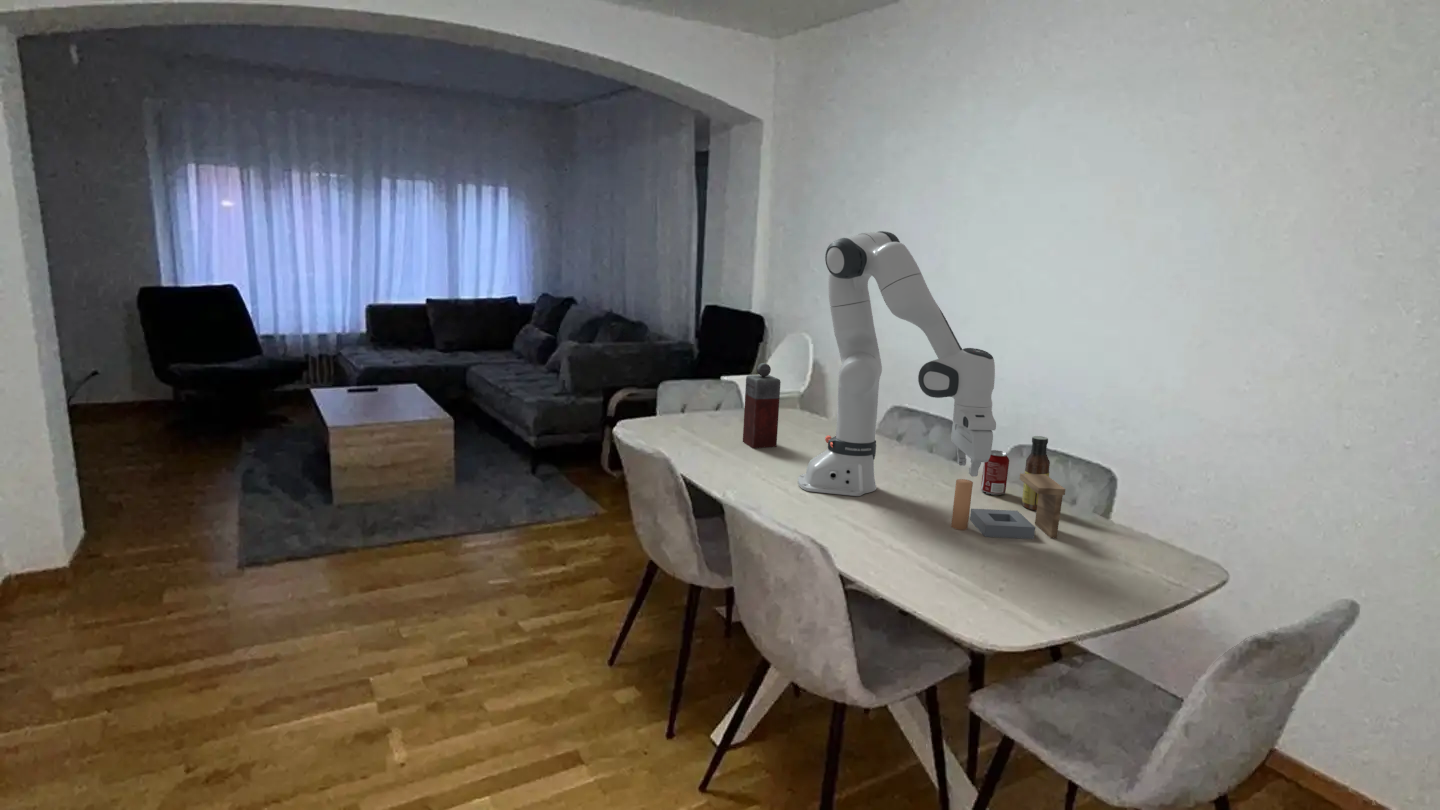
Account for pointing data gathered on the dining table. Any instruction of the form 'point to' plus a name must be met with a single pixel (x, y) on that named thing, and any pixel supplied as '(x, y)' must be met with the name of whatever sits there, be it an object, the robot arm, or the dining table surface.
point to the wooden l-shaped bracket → (1046, 501)
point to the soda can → (995, 473)
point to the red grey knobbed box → (761, 409)
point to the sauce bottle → (1035, 469)
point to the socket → (1002, 523)
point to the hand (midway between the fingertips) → (967, 470)
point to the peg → (961, 504)
